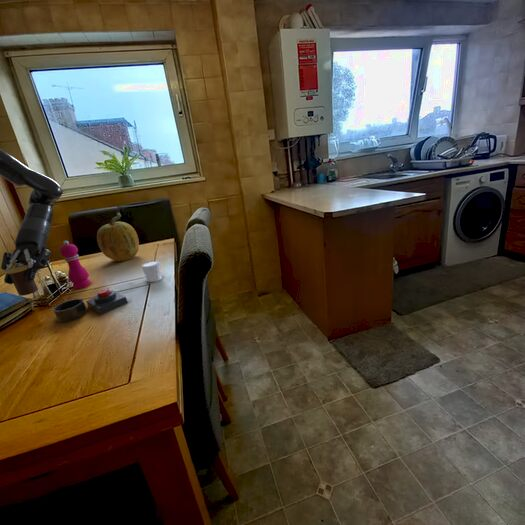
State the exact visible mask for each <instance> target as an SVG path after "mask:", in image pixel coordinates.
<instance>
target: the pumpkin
mask: <svg viewBox="0 0 525 525" xmlns="http://www.w3.org/2000/svg"><path fill="white" fill-rule="evenodd" d="M121 217H122V215H121V213H120V212H116V216H114V217H112V218H111V219H110V222H109V223H107V224H104V225H102V226H101V227H100V228H99V229H98V230H97V233H96V241H97V245H98V248H99V249H100V251H101V252H102V254H103V255H104V256H105V257H106V258H108V259H111V260H112V261H115V262H124V261H128V260H130V259H133V258H134V257H135V256H136V255H137V254H138V253H139V251H140V250H139V249H140V241H139V236H138V233H137V230H135V228H134V227H133V226H132V225H131V224H129V223H127V222H124V221H117V220H120V218H121Z"/></svg>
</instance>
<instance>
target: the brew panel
mask: <svg viewBox="0 0 525 525" xmlns="http://www.w3.org/2000/svg"><path fill="white" fill-rule="evenodd" d="M109 291H110V295H108V296H106V297H102V298H99V296H98V293H97V294H96V295H94V297H92V298H90V299H87V300H86V304H87V306H88V308H90V309H91V310H93V311H94V312H96V313H97V314H99V315H104V314H106V313H109V312H110V311H113V310H115V309H118V308H120V307H121V306H123V305H126V304H128V302H129V301H128V299H127V296H125V295H123V294H121V293H119V292H117V291H115V290H114V289H113V290H111V289H109Z"/></svg>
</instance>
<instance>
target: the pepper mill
mask: <svg viewBox="0 0 525 525" xmlns="http://www.w3.org/2000/svg"><path fill="white" fill-rule="evenodd" d="M78 252H79V249H78V247H77V245H75V244H73V243H69V241H68V240H63V245H62V246H61V247H60V248H59V253H60V255H61V256H62V257H63V259H64V261H65V262H66V263H67V266H68V275H67V276H68V280H69V282H70V283H72V287H73V289H75V290H79V289H83V288H87V287H88V286H90V285H91V283H92V282H91V281H90V279H89V276H90V274H89V272H88V270H87V269H85V268H84V266H83V265H82V264H81V262H80V260H79V258H80V255H79V254H78Z"/></svg>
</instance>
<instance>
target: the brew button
mask: <svg viewBox="0 0 525 525" xmlns="http://www.w3.org/2000/svg"><path fill="white" fill-rule="evenodd" d="M97 294H98V296H99V298H102V297H106V296H108V295H110V289H109V288H103V289H100V290H98V291H97Z"/></svg>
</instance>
